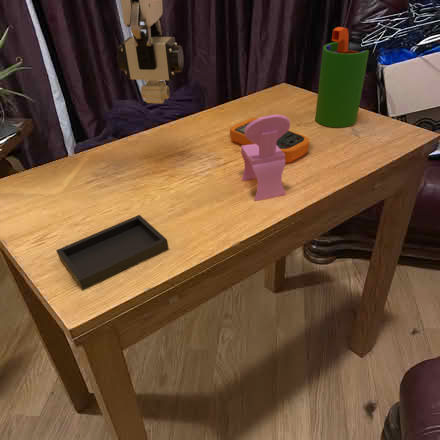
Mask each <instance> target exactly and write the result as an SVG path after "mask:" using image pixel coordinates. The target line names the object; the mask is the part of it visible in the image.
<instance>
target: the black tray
mask: <svg viewBox="0 0 440 440" xmlns="http://www.w3.org/2000/svg"><path fill="white" fill-rule="evenodd" d="M168 250H169V243H168V239H167V238H166V237H165V236H163V234H162V233H160V232H159V231H158V230H157V229H156V228H155V227H154V226H153V225H152V224H150V223H149V222H148V221H147V220H146V219H145V218H144V217H143V216H141V215H140V214H138V215H136V216H133V217H131V218H128V219H126V220H123V221H120V222H119V223H117V224H114V225H111V226H110V227H107V228H104V229H103V230H100V231H98V232H95V233H93V234H91V235H88V236H85V237H84V238H82V239H79V240H77V241H75V242H72V243H70V244H67V245H65V246H62V247H61V248H57V249H56V250H55V251H56V254H57V256H58V258H59V260H60V262H61V263H62V265H63V266H64V267H65V268H66V270H67V271H68V273H69V274H70V275H71V277H72V278H73V279H74V281H75V282H76V283H77V285H78V286H79V288H80V289H81V290H82V291H84V290H86V289H88V288H90V287H93V286H94V285H95V286H96V285H97V284H99V283H101V282H103V281H105V280H107V279H109V278H111V277H113V276H116V275H117V274H120V273H123V272H124V271H126V270H128V269H130V268H132V267H134V266H137V265H139V264H141V263H142V262H144V261H147V260H149V259H151V258H153V257H155V256H157V255H159V254H162V253H164V252H166V251H168Z"/></svg>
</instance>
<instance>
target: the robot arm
mask: <svg viewBox="0 0 440 440" xmlns="http://www.w3.org/2000/svg"><path fill="white" fill-rule="evenodd" d="M120 4H121V13H122V20H123V23H124V26H125V27H126V28H130V31H131V33H132V37H134V42H135V46H136V52H137V58H138V65H139V69H141V70H155V69H156V61H155V53H154V46H153V45H151V37H163V34H162V33H163V30H162V24H161V17H162V16H163V12H164V11H163V10H164V9H163V0H120ZM141 23H143V24H141ZM145 33H146V35H145Z"/></svg>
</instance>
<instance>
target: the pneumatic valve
mask: <svg viewBox="0 0 440 440" xmlns="http://www.w3.org/2000/svg"><path fill="white" fill-rule="evenodd" d="M144 33H145V35H146V32H144ZM151 45H153V46H154V53H155V61H156V69H155V70H141V69H139V65H138V58H137V52H136V46H135V42H134V37H133V36H129V37H127V38H126V39H125V40H123V42H122V43H121V44H120V45H118V47H117V53H116V55H117V64H118V67H119V69H120V70H121V71H122V72H124V74H125V75H126V76H127V80H131V81H132V80H136V81H138V80H139V81H144V83H145V84H143V85H141V88H140V94H141V97H142V98H143V101H144V102H145V103H146V104H163V103H165V100H168V99H169V98H170V95H171V94H170V93H171V92H170V87H169V86H168V85H167V82H166V81H173V80H174V79H175V77H176V76H177V75H178V73H182V72H183V70H184V62H185V61H184V60H185V57H184V56H185V55H184V50H183V47H182V46H181V45H178V43H177V42H176V37H175V36H162V37H151Z"/></svg>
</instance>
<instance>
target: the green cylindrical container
mask: <svg viewBox="0 0 440 440" xmlns="http://www.w3.org/2000/svg"><path fill="white" fill-rule="evenodd" d="M348 29H349V28H347V27H342V26H337V27H335V28H334V29H332V36H331V41H332V42H329V43H326V44H324V45H323V46H322V51H321V52H322V53H321V62H320V71H319V79H318V90H317V96H316V97H317V98H316V107H315V117H314V120H315V122H317V124H319V125H322V126H324V127H328V128H347V127H351V126H353V125H355V124H356V123H357V121H358V116H359V115H358V114H359V111H360V110H359V109H360V104H361V98H362V92H363V87H364V82H365V78H366V77H365V76H366V72H367V71H366V70H367V65H368V64H367V63H368V60H369V55H370V54H369V53H370V50H368V49H365V50H362V51H358V50H351V49H349V39H350V38H349V37H350V36H349V30H348Z"/></svg>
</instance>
